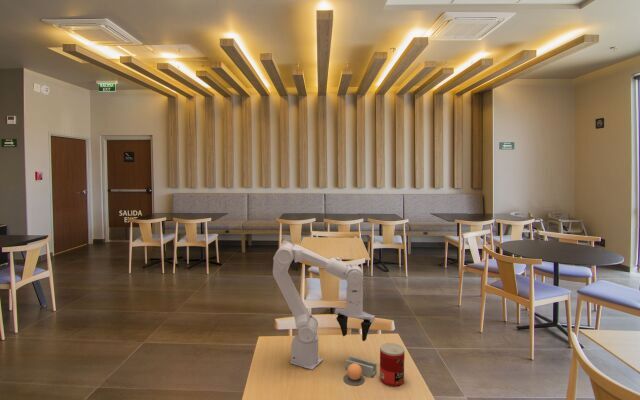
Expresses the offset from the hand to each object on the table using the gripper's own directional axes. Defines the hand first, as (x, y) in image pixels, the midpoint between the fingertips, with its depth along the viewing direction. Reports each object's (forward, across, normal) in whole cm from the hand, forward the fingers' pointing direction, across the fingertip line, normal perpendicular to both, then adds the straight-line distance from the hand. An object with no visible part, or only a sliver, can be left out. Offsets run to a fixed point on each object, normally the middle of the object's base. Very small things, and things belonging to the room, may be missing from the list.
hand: (354, 337), depth 134 cm
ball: (+10, -4, +9) cm, 14 cm away
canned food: (+10, -15, +3) cm, 18 cm away
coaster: (+10, -4, +9) cm, 14 cm away
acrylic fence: (+10, -4, +3) cm, 11 cm away
